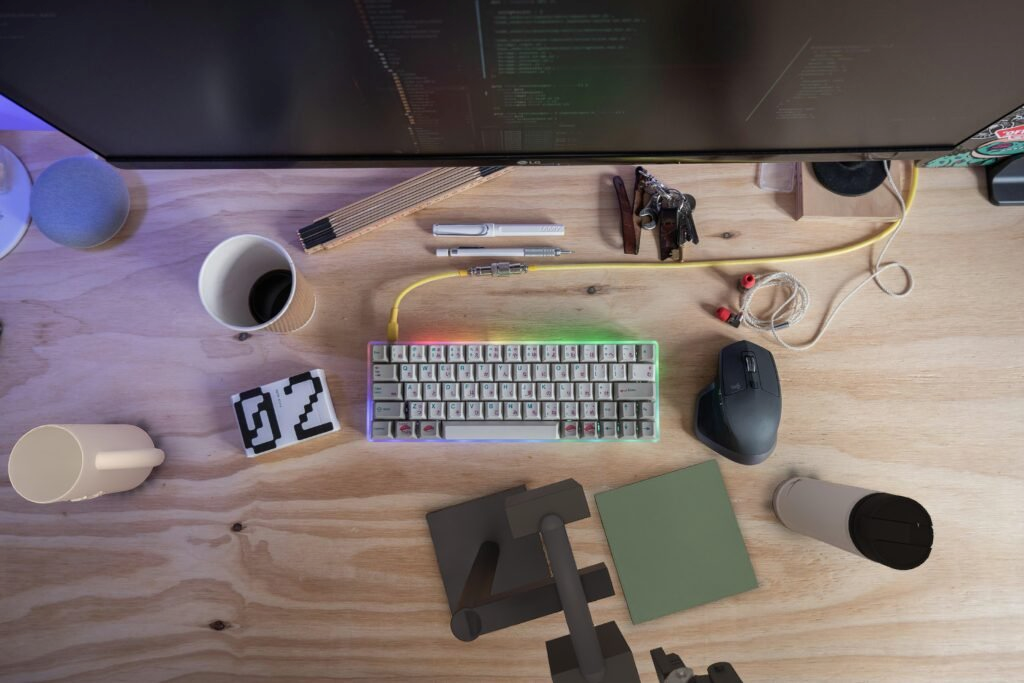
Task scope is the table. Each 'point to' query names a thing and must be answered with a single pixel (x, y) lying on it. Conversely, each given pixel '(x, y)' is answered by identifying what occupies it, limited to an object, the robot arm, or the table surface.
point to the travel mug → (857, 520)
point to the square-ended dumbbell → (571, 588)
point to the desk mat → (675, 542)
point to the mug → (81, 461)
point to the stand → (498, 568)
